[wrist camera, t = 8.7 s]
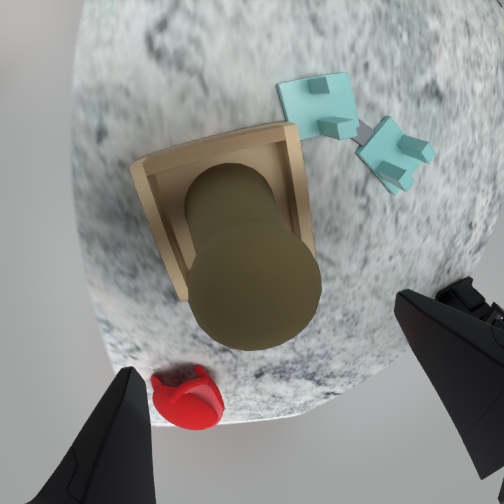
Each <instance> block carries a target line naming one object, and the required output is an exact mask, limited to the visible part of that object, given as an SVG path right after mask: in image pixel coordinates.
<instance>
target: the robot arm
mask: <svg viewBox="0 0 504 504" xmlns="http://www.w3.org/2000/svg"><path fill="white" fill-rule="evenodd" d="M472 282H473V279H472V278H471V277H469V278H467V279H465V280H463V281H461V282H459V283H457V284H455V285H453V286H450V287H448V288H446V289H444V290H442V291H440V292H439V293H438V294H437V298H436V300H433V299H431V298H429V297H426V296H424V295H422V294H419V293H417V292H415V291H412V290H410V289H404V290H402V291H399V292H398V293H397V294H396V300H395V307H394V313H395V316H396V318H397V320H398V322H399V324H400V326H401V328H402V331H403V333H404V335H405V337H406V339H407V341H408V343H409V345H410V347H411V349H412V351H413V352H414V354H415V356H416V357H417V359H418V361H419V362H420V364H421V366H422V367H423V369H424V371H425V373H426V374H427V376H428V378H429V379H430V381H431V383H432V385H433V386H434V388H435V390H436V391H437V393H438V395H439V397H440V399H441V400H442V402H443V404H444V406H445V408H446V410H447V411H448V413H449V415H450V417H451V419H452V421H453V423H454V424H455V427H456V428H457V430H458V432H459V434H460V436H461V438H462V440H463V443H464V445H465V447H466V449H467V451H468V453H469V455H470V457H471V459H472V461H473V464H474V466H475V468H476V470H477V472H478V474H479V477H480V479H481V480H483V479H484V478H486V477H488V476H489V475H491V474H493V473H494V472H496V471H497V470H499V469H500V468H502V467H503V466H504V309H503V308H501V307H500V306H499V305H498V304H496V303H495V302H493V304H492V305H491V307H490V306H489V305H488V304H487V303H486V302H485V298H484V297H483V296H482V295H481V294H480V293H479V292H478V291H477V290H476V289H474V288H473V287H472ZM501 317H503V319H501ZM498 500H499V502H500V504H504V479H503V482H502V486H501V489H500V493H499V496H498ZM26 504H156V498H155V487H154V475H153V461H152V443H151V423H150V415H149V407H148V399H147V390H146V384H145V381H144V380H143V378H142V377H141V376H140V374H139V373H138V372H137V371H136V369H135V368H134V367H132V366H130V367H124V368H121V369H120V371H119V372H118V374H117V375H116V377H115V378H114V380H113V381H112V383H111V384H110V386H109V387H108V389H107V390H106V392H105V394H104V395H103V396H102V398H101V399H100V401H99V402H98V404H97V406H96V407H95V409H94V410H93V412H92V413H91V415H90V416H89V418H88V420H87V421H86V423H85V424H84V426H83V427H82V429H81V431H80V432H79V434H78V436H77V437H76V439H75V441H74V442H73V444H72V446H71V447H70V448H69V450H68V452H67V453H66V455H65V456H64V458H63V459H62V461H61V463H60V464H59V466H58V467H57V468H56V470H55V471H54V473H53V474H52V475H51V477H50V478H49V479H48V481H47V482H46V483H45V485H44V486H43V488H42V489H41V490H40V492H39V493H38V494H37V495H36V497H35V498H34V499H32V500H31V501H30V502H28V503H26Z"/></svg>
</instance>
